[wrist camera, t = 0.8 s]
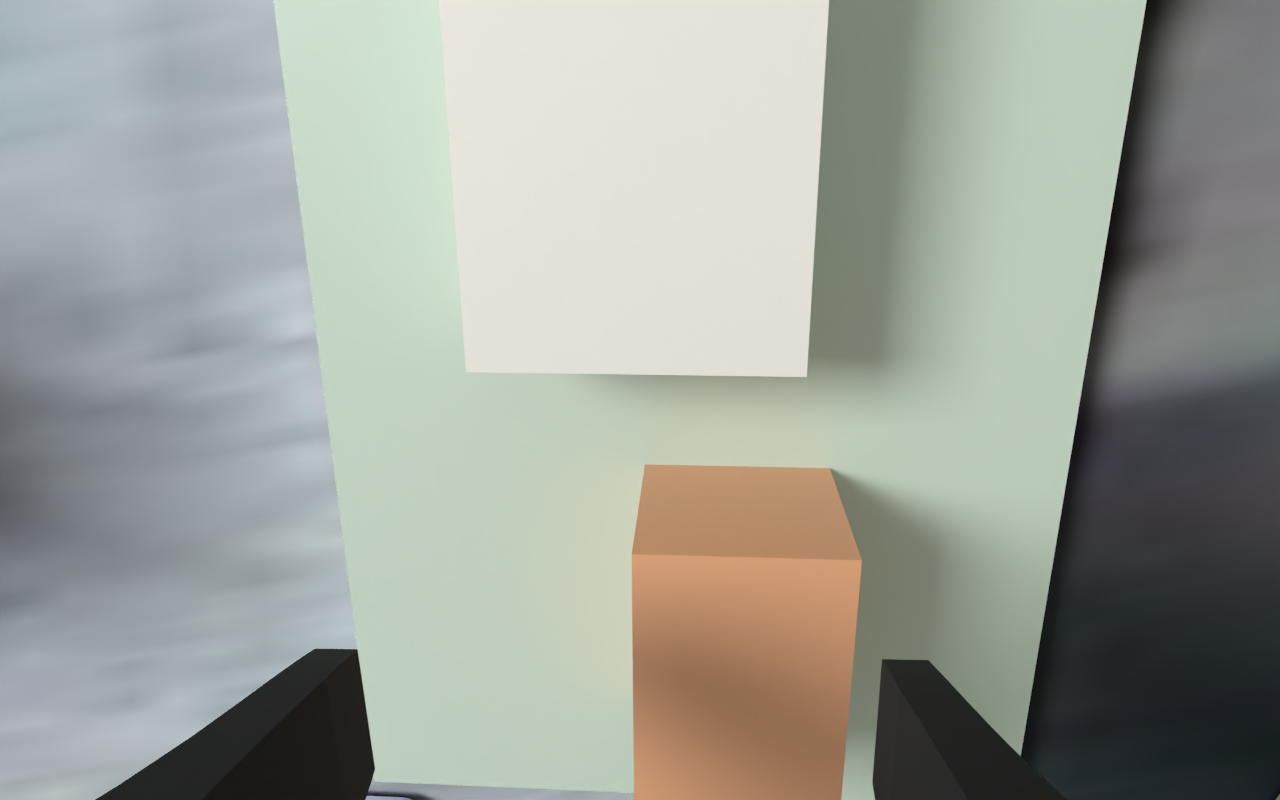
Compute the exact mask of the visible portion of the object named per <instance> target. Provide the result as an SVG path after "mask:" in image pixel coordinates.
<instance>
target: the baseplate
mask: <svg viewBox="0 0 1280 800" xmlns="http://www.w3.org/2000/svg"><path fill="white" fill-rule="evenodd" d="M1146 1H1147V0H829V10H828V27H827V44H826V61H825V78H824V95H823V112H822V129H821V146H820V163H819V180H818V196H817V213H816V230H815V247H814V264H813V281H812V298H811V315H810V332H809V349H808V365H807V377H770V376H699V375H628V374H556V373H485V372H466V366H465V353H464V339H463V325H462V312H461V298H460V284H459V270H458V257H457V243H456V229H455V216H454V202H453V188H452V175H451V161H450V147H449V133H448V120H447V106H446V92H445V79H444V65H443V51H442V38H441V24H440V10H439V0H273V2H274V10H275V18H276V25H277V33H278V41H279V49H280V56H281V64H282V72H283V80H284V87H285V95H286V103H287V111H288V118H289V126H290V134H291V142H292V149H293V157H294V165H295V173H296V180H297V188H298V196H299V204H300V211H301V219H302V227H303V235H304V242H305V250H306V258H307V266H308V273H309V281H310V289H311V297H312V304H313V312H314V320H315V328H316V335H317V343H318V351H319V359H320V366H321V374H322V382H323V390H324V397H325V405H326V413H327V421H328V428H329V436H330V444H331V452H332V459H333V467H334V475H335V483H336V490H337V498H338V506H339V514H340V521H341V529H342V537H343V545H344V552H345V560H346V568H347V576H348V583H349V591H350V599H351V607H352V614H353V622H354V630H355V638H356V645H357V650H358V656H359V663H360V670H361V676H362V683H363V690H364V697H365V704H366V711H367V717H368V724H369V731H370V738H371V745H372V751H373V758H374V765H375V771H374V774H373V777H374V782H395V783H418V784H441V785H464V786H487V787H510V788H534V789H557V790H580V791H603V792H626V793H634V749H633V643H632V549H633V542H634V535H635V528H636V521H637V515H638V508H639V501H640V494H641V487H642V481H643V474H644V467H645V464H650V465H699V466H749V467H798V468H830V470H831V473H832V476H833V479H834V482H835V484H836V487H837V490H838V493H839V496H840V499H841V502H842V505H843V507H844V510H845V513H846V516H847V519H848V522H849V525H850V528H851V530H852V533H853V536H854V539H855V542H856V545H857V548H858V551H859V553H860V556H861V559H862V565H861V577H860V588H859V600H858V611H857V623H856V635H855V646H854V658H853V669H852V681H851V692H850V704H849V715H848V727H847V738H846V750H845V761H844V773H843V784H842V796H841V800H875V796H874V790H873V784H872V780H873V767H874V754H875V742H876V729H877V716H878V703H879V691H880V678H881V665H882V659H898V660H929V661H930V662H931V663H932V664H933V665H934V666H935V667H936V668H937V670H938V671H939V672H940V673H941V674H942V675H943V676H944V677H945V678H946V679H947V680H948V681H949V682H950V683H951V684H952V685H953V687H954V688H955V689H956V690H957V691H958V692H959V693H960V694H961V695H962V696H963V697H964V698H965V699H966V700H967V702H968V703H969V704H970V705H971V706H972V707H973V708H974V709H975V710H976V711H977V712H978V713H979V714H980V715H981V716H982V717H983V719H984V720H985V721H986V722H987V723H988V724H989V725H990V726H991V727H992V728H993V729H994V730H995V731H996V732H997V733H998V734H999V735H1000V736H1001V737H1002V738H1003V739H1004V740H1005V741H1006V742H1007V743H1008V744H1009V745H1010V746H1011V747H1012V748H1013V749H1014V750H1015V751H1016V752H1017V753H1018V754H1019V755H1020V756H1021V751H1022V745H1023V739H1024V733H1025V727H1026V721H1027V715H1028V709H1029V703H1030V697H1031V691H1032V685H1033V679H1034V673H1035V667H1036V661H1037V655H1038V649H1039V643H1040V637H1041V631H1042V625H1043V619H1044V613H1045V607H1046V601H1047V595H1048V589H1049V583H1050V577H1051V571H1052V565H1053V559H1054V553H1055V547H1056V541H1057V535H1058V529H1059V523H1060V517H1061V511H1062V505H1063V499H1064V493H1065V487H1066V481H1067V475H1068V469H1069V463H1070V457H1071V451H1072V445H1073V439H1074V433H1075V427H1076V421H1077V415H1078V409H1079V403H1080V397H1081V391H1082V385H1083V379H1084V373H1085V367H1086V361H1087V355H1088V349H1089V343H1090V337H1091V331H1092V325H1093V319H1094V313H1095V307H1096V301H1097V295H1098V289H1099V283H1100V277H1101V271H1102V265H1103V259H1104V253H1105V247H1106V241H1107V235H1108V229H1109V223H1110V217H1111V211H1112V205H1113V199H1114V193H1115V187H1116V181H1117V175H1118V169H1119V163H1120V157H1121V151H1122V145H1123V139H1124V133H1125V127H1126V121H1127V115H1128V109H1129V103H1130V97H1131V91H1132V85H1133V79H1134V73H1135V67H1136V61H1137V55H1138V49H1139V43H1140V37H1141V31H1142V25H1143V19H1144V13H1145V7H1146Z"/></svg>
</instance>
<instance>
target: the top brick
mask: <svg viewBox="0 0 1280 800" xmlns="http://www.w3.org/2000/svg"><path fill="white" fill-rule="evenodd" d="M861 565H862V559H861V556H860V553H859V551H858V548H857V545H856V542H855V539H854V536H853V533H852V530H851V528H850V525H849V522H848V519H847V516H846V513H845V510H844V507H843V505H842V502H841V499H840V496H839V493H838V490H837V487H836V484H835V482H834V479H833V476H832V473H831V470H830V468H798V467H749V466H699V465H650V464H645V467H644V474H643V481H642V487H641V494H640V501H639V508H638V515H637V521H636V528H635V535H634V542H633V549H632V643H633V749H634V800H841V796H842V784H843V773H844V761H845V750H846V738H847V727H848V715H849V704H850V692H851V681H852V669H853V658H854V646H855V635H856V623H857V611H858V600H859V588H860V577H861Z"/></svg>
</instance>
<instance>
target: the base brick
mask: <svg viewBox="0 0 1280 800" xmlns="http://www.w3.org/2000/svg"><path fill="white" fill-rule="evenodd" d="M439 10H440V24H441V38H442V51H443V65H444V79H445V92H446V106H447V120H448V133H449V147H450V161H451V175H452V188H453V202H454V216H455V229H456V243H457V257H458V270H459V284H460V298H461V312H462V325H463V339H464V353H465V366H466V372H485V373H556V374H628V375H699V376H770V377H807V365H808V349H809V332H810V315H811V298H812V281H813V264H814V247H815V230H816V213H817V196H818V180H819V163H820V146H821V129H822V112H823V95H824V78H825V61H826V44H827V27H828V10H829V0H439Z"/></svg>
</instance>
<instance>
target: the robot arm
mask: <svg viewBox="0 0 1280 800" xmlns="http://www.w3.org/2000/svg"><path fill="white" fill-rule="evenodd" d="M374 771H375V765H374V758H373V751H372V745H371V738H370V731H369V724H368V717H367V711H366V704H365V697H364V690H363V683H362V676H361V670H360V663H359V656H358V650H355V649H314V650H313V651H311V652H309V653H308V654H306V655H305V656H303V657H302V658H300V659H299V660H297V661H296V662H294V663H293V664H292V665H290V666H289V667H287V668H286V669H285V670H283V671H282V672H280V673H279V674H278V675H276V676H275V677H273V678H272V679H271V680H269V681H268V682H267V683H265V684H264V685H263V686H261V687H260V688H258V689H257V690H256V691H254V692H253V693H252V694H250V695H249V696H248V697H246V698H245V699H243V700H242V701H241V702H239V703H238V704H237V705H235V706H234V707H232V708H231V709H230V710H228V711H227V712H225V713H224V714H223V715H221V716H220V717H218V718H217V719H216V720H214V721H213V722H212V723H210V724H209V725H207V726H206V727H205V728H203V729H202V730H200V731H199V732H198V733H196V734H195V735H193V736H192V737H191V738H189V739H188V740H186V741H185V742H183V743H182V744H180V745H179V746H177V747H176V748H174V749H173V750H171V751H170V752H168V753H167V754H165V755H164V756H162V757H161V758H159V759H158V760H156V761H155V762H153V763H152V764H150V765H149V766H147V767H146V768H144V769H143V770H141V771H140V772H138V773H137V774H135V775H134V776H132V777H131V778H129V779H128V780H126V781H125V782H123V783H122V784H120V785H118V786H117V787H115V788H114V789H112V790H110V791H109V792H107V793H106V794H104V795H102V796H101V797H99V798H97V799H96V800H412V799H409V798H404V797H382V796H367V793H368V790H369V787H370V784H371V780H372V777H373V774H374ZM872 784H873V790H874V796H875V800H1067V799H1066V798H1065V797H1064V796H1062V795H1061V794H1060V793H1059V792H1058V791H1057V790H1056V789H1054V788H1053V787H1052V786H1051V785H1050V784H1049V783H1048V782H1047V781H1046V780H1045V779H1044V778H1043V777H1042V776H1040V775H1039V774H1038V773H1037V772H1036V771H1035V770H1034V769H1033V768H1032V767H1031V766H1030V765H1029V764H1028V763H1027V762H1026V761H1025V760H1024V759H1023V758H1022V757H1021V756H1020V755H1019V754H1018V753H1017V752H1016V751H1015V750H1014V749H1013V748H1012V747H1011V746H1010V745H1009V744H1008V743H1007V742H1006V741H1005V740H1004V739H1003V738H1002V737H1001V736H1000V735H999V734H998V733H997V732H996V731H995V730H994V729H993V728H992V727H991V726H990V725H989V724H988V723H987V722H986V721H985V720H984V719H983V717H982V716H981V715H980V714H979V713H978V712H977V711H976V710H975V709H974V708H973V707H972V706H971V705H970V704H969V703H968V702H967V700H966V699H965V698H964V697H963V696H962V695H961V694H960V693H959V692H958V691H957V690H956V689H955V688H954V687H953V685H952V684H951V683H950V682H949V681H948V680H947V679H946V678H945V677H944V676H943V675H942V674H941V673H940V672H939V671H938V670H937V668H936V667H935V666H934V665H933V664H932V663H931V662H930V661H929V660H898V659H882V665H881V678H880V691H879V703H878V716H877V729H876V742H875V754H874V767H873V780H872Z"/></svg>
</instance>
